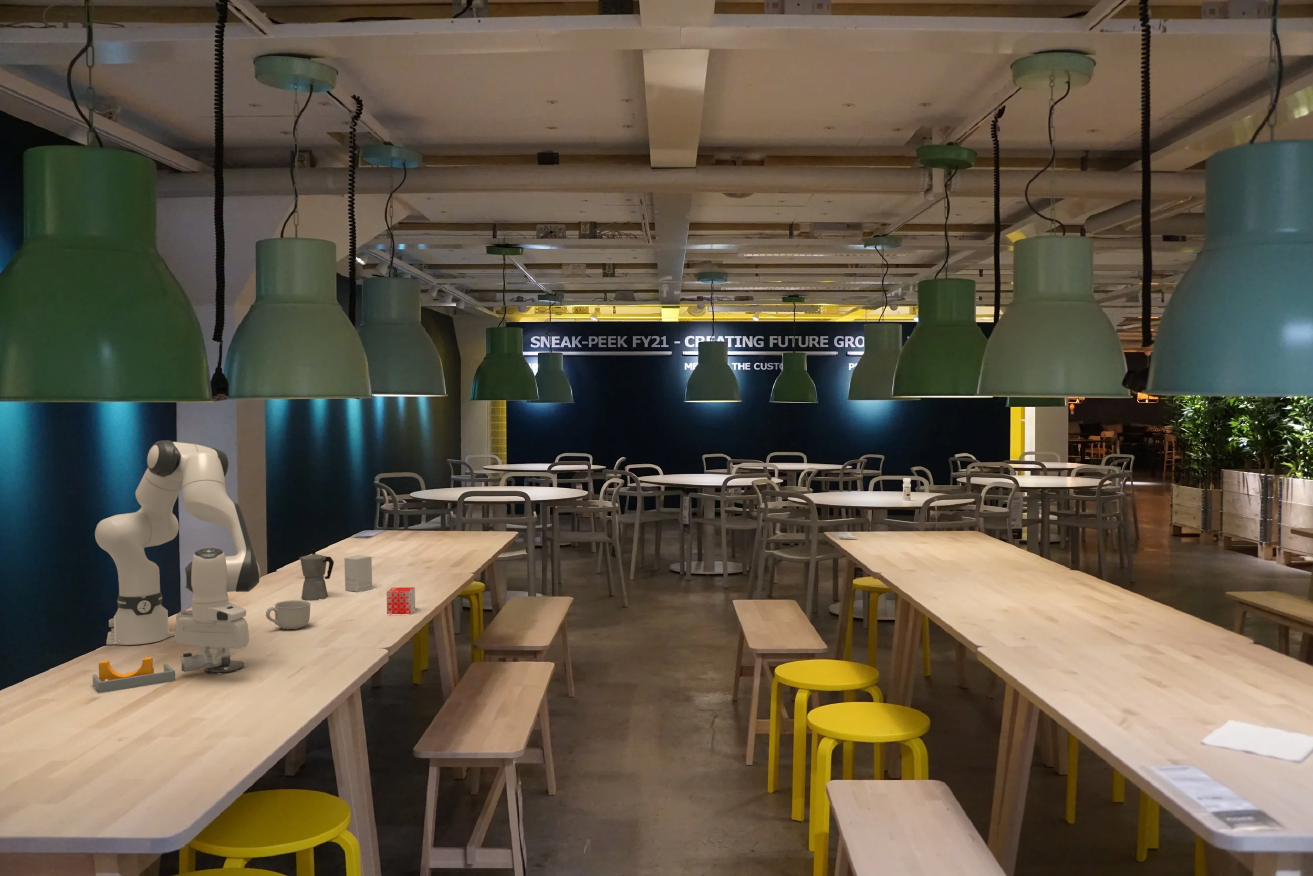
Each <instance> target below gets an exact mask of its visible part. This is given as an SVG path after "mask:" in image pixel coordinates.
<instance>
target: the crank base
mask: <svg viewBox="0 0 1313 876" xmlns="http://www.w3.org/2000/svg"><path fill="white" fill-rule="evenodd" d="M244 668H245V662H244V661H242V660H236V659H232V660H231V659H230V665H226V666H219V665H218V666H213V667H208V668H203V669H204V672H205V673H206V672H207V674H211V673H214V675H218V674H217V673H222V674H230V673H235V672H239V671H241V670H243V669H244ZM238 670H239V671H238Z"/></svg>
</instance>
